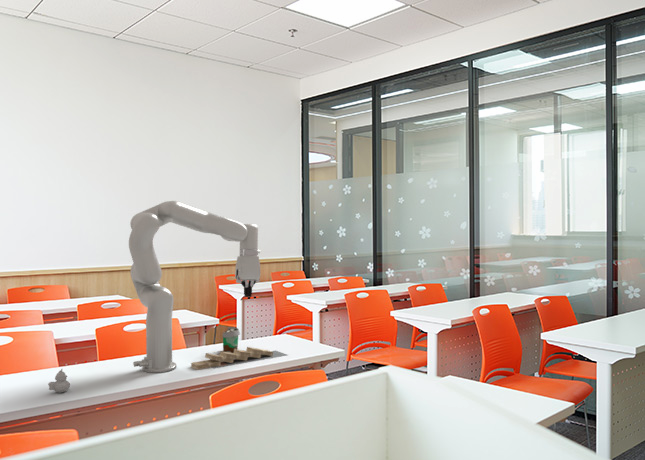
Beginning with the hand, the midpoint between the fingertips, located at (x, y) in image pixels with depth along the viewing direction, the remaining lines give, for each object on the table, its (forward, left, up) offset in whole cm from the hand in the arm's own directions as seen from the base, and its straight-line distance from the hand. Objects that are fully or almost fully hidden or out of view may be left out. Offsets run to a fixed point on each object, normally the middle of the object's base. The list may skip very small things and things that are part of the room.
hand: (247, 296), depth 231 cm
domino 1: (-18, -7, -23) cm, 30 cm away
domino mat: (-5, -7, -25) cm, 26 cm away
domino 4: (0, -7, -24) cm, 25 cm away
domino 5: (+6, -7, -24) cm, 25 cm away
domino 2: (-12, -7, -24) cm, 27 cm away
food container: (-4, +7, -25) cm, 26 cm away
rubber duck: (-75, -6, -25) cm, 79 cm away
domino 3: (-6, -7, -24) cm, 25 cm away
